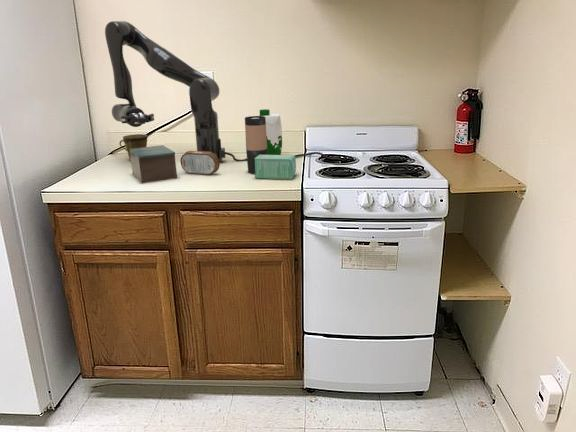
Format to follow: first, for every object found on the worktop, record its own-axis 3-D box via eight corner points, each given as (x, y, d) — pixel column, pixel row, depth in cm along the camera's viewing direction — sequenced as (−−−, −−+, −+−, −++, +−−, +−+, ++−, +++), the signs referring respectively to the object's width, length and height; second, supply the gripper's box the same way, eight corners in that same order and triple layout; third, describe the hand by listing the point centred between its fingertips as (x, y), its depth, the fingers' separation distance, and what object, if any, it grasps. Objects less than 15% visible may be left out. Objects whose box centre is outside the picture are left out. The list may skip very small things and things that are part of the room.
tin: (220, 174, 183) (219, 151, 180) (216, 176, 180) (215, 153, 177) (184, 172, 187) (182, 149, 185) (180, 173, 185) (178, 151, 182)
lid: (175, 154, 175) (175, 152, 175) (139, 158, 169) (138, 156, 169) (163, 147, 189) (163, 145, 189) (129, 151, 183) (129, 148, 183)
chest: (177, 178, 178) (174, 154, 176) (141, 183, 173) (138, 158, 170) (165, 170, 192) (163, 147, 189) (132, 174, 186) (129, 151, 183)
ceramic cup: (140, 156, 219) (137, 133, 216) (154, 158, 213) (152, 135, 210) (114, 161, 209) (111, 138, 206) (129, 164, 203) (126, 140, 200)
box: (292, 179, 171) (292, 158, 169) (254, 179, 174) (253, 158, 172) (296, 174, 178) (295, 154, 176) (259, 174, 181) (258, 154, 179)
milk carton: (261, 156, 210) (259, 108, 204) (282, 156, 210) (281, 108, 204) (260, 161, 202) (257, 111, 196) (282, 160, 202) (280, 110, 195)
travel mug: (271, 170, 186) (269, 116, 180) (262, 174, 180) (259, 119, 174) (253, 168, 190) (250, 115, 183) (243, 173, 183) (240, 118, 177)
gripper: (114, 107, 192) (123, 112, 178) (148, 105, 198) (159, 109, 183) (117, 127, 195) (125, 132, 180) (151, 124, 200) (162, 129, 186)
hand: (143, 120), depth 182 cm, fingers closed
